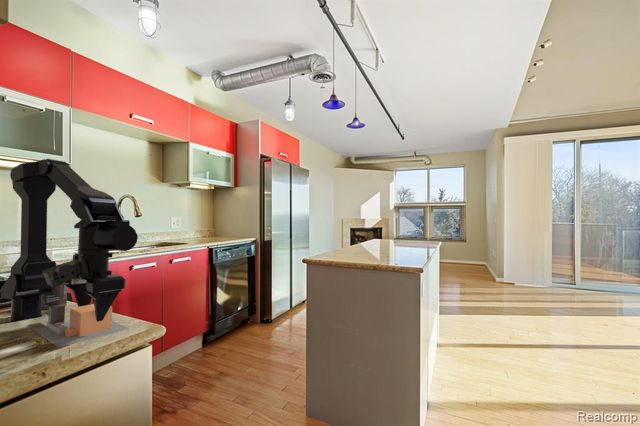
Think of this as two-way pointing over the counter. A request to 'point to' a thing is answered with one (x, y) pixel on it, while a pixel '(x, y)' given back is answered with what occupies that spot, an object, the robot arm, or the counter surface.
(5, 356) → the counter surface
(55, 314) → the latch bolt
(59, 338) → the latch plate
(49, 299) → the supplement bottle
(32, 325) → the counter surface
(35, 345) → the counter surface
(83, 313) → the cover
